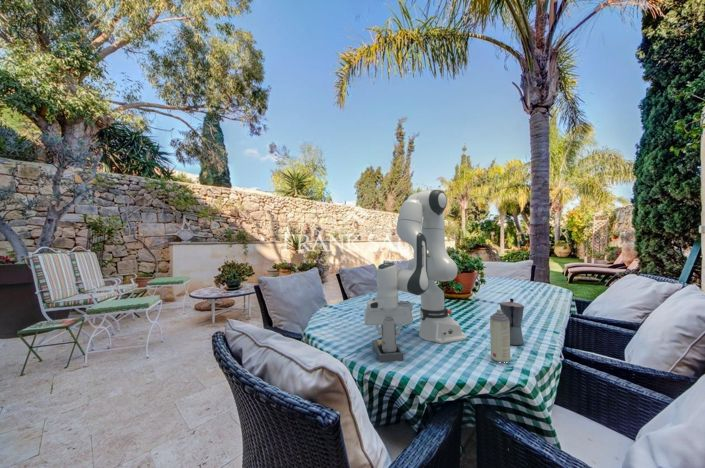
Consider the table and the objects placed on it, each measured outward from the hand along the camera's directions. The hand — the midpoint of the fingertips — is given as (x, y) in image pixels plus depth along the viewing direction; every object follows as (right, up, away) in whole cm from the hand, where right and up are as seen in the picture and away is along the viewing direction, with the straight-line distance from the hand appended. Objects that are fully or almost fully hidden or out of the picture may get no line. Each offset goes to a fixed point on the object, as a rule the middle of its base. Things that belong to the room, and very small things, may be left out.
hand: (388, 334), depth 115 cm
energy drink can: (0, -7, 0) cm, 7 cm away
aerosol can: (+44, -8, -6) cm, 45 cm away
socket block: (0, -9, +3) cm, 10 cm away
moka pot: (+58, -8, +10) cm, 59 cm away
